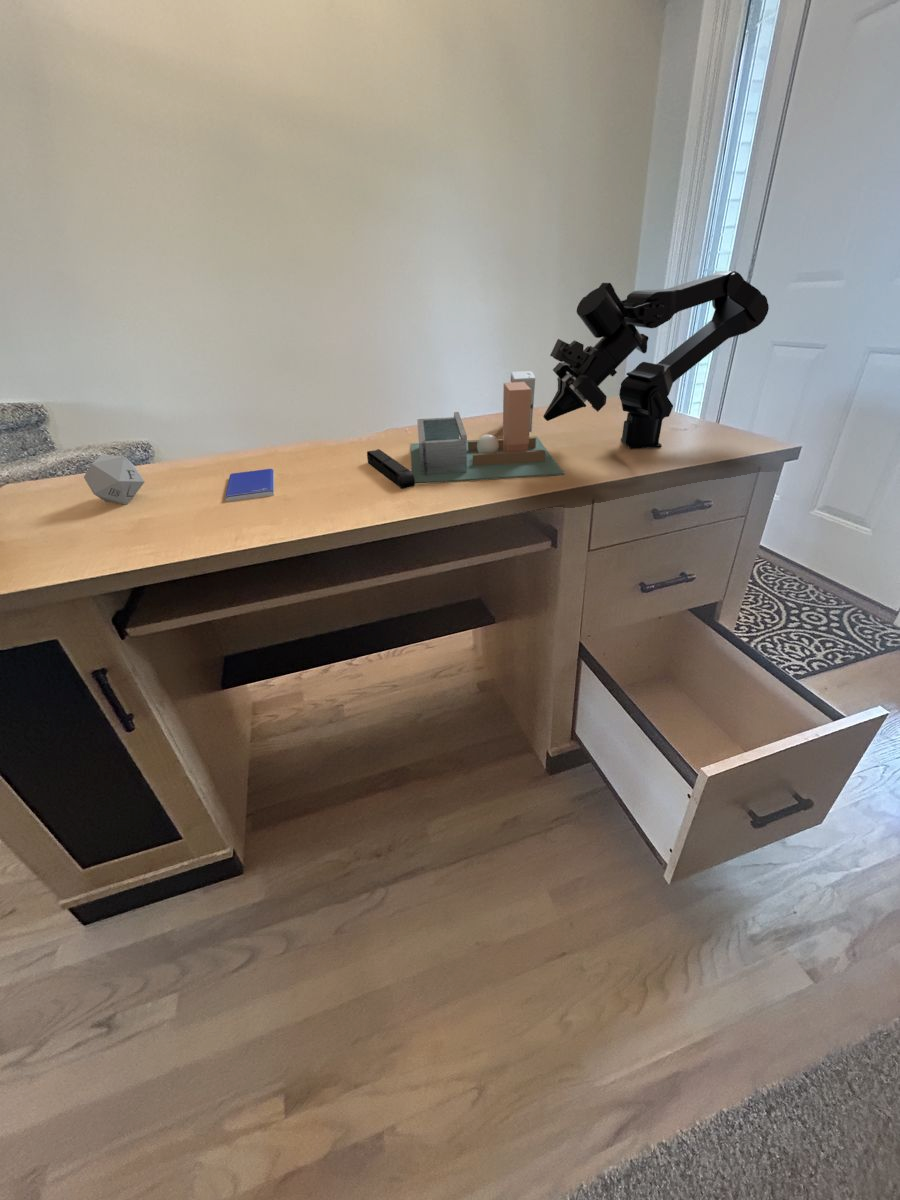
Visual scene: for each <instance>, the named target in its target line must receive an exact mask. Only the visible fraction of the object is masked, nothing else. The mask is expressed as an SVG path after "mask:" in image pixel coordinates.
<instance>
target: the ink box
mask: <svg viewBox="0 0 900 1200" xmlns="http://www.w3.org/2000/svg"><path fill="white" fill-rule="evenodd" d="M512 382H525V383H526V384H527V385H528V386H529V387H530V388H531V407H530V429H529V433H531V432H532V427H533V414H534V401H535V389H536V376H535V374H534V372H533V371H532V370H526V371H525V370H522V371H511V372H510V383H512Z"/></svg>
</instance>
